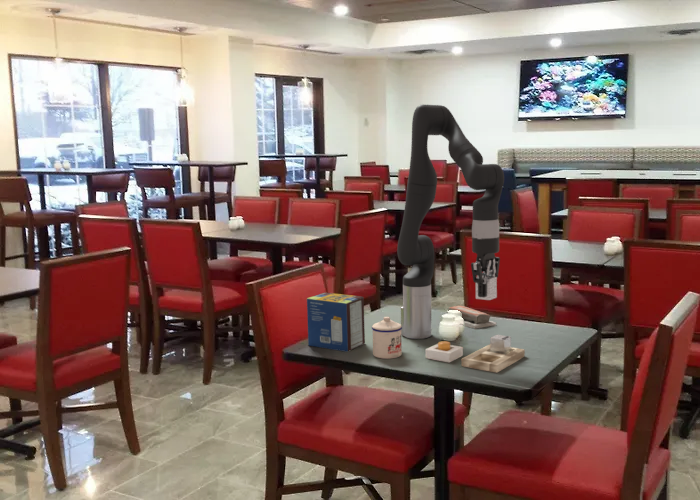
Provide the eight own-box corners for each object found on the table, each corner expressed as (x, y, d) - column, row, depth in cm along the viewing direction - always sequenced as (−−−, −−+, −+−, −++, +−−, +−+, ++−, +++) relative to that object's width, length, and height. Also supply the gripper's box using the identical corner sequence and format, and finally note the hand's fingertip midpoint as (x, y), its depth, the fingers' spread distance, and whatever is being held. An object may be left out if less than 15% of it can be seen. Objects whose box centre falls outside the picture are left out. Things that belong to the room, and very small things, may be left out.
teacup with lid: (391, 361, 211) (391, 322, 209) (366, 356, 216) (365, 318, 215) (413, 351, 221) (412, 314, 219) (388, 346, 226) (387, 310, 224)
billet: (490, 357, 210) (490, 337, 210) (497, 354, 214) (497, 333, 213) (504, 360, 208) (504, 339, 207) (510, 356, 211) (510, 336, 210)
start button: (435, 350, 212) (435, 343, 212) (441, 347, 215) (441, 340, 215) (446, 351, 210) (446, 345, 210) (452, 348, 213) (452, 342, 212)
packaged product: (442, 306, 260) (464, 303, 265) (442, 319, 261) (464, 316, 265) (474, 316, 244) (497, 312, 249) (474, 330, 245) (497, 326, 250)
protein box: (325, 337, 238) (324, 292, 236) (365, 343, 230) (364, 296, 228) (307, 345, 230) (305, 298, 227) (347, 352, 221) (346, 302, 219)
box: (425, 359, 212) (425, 349, 212) (439, 352, 218) (439, 343, 218) (449, 363, 207) (449, 353, 207) (462, 356, 213) (462, 347, 213)
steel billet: (475, 298, 204) (475, 277, 203) (482, 296, 208) (482, 274, 207) (489, 300, 202) (489, 278, 201) (496, 297, 205) (496, 275, 204)
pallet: (461, 367, 204) (461, 358, 203) (490, 351, 218) (490, 343, 217) (497, 373, 197) (497, 365, 197) (524, 357, 211) (524, 349, 211)
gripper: (484, 232, 210) (485, 290, 212) (461, 237, 199) (462, 298, 201) (508, 233, 206) (509, 292, 208) (486, 239, 194) (486, 301, 197)
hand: (486, 295), depth 204 cm, fingers closed on steel billet, 4 cm apart
